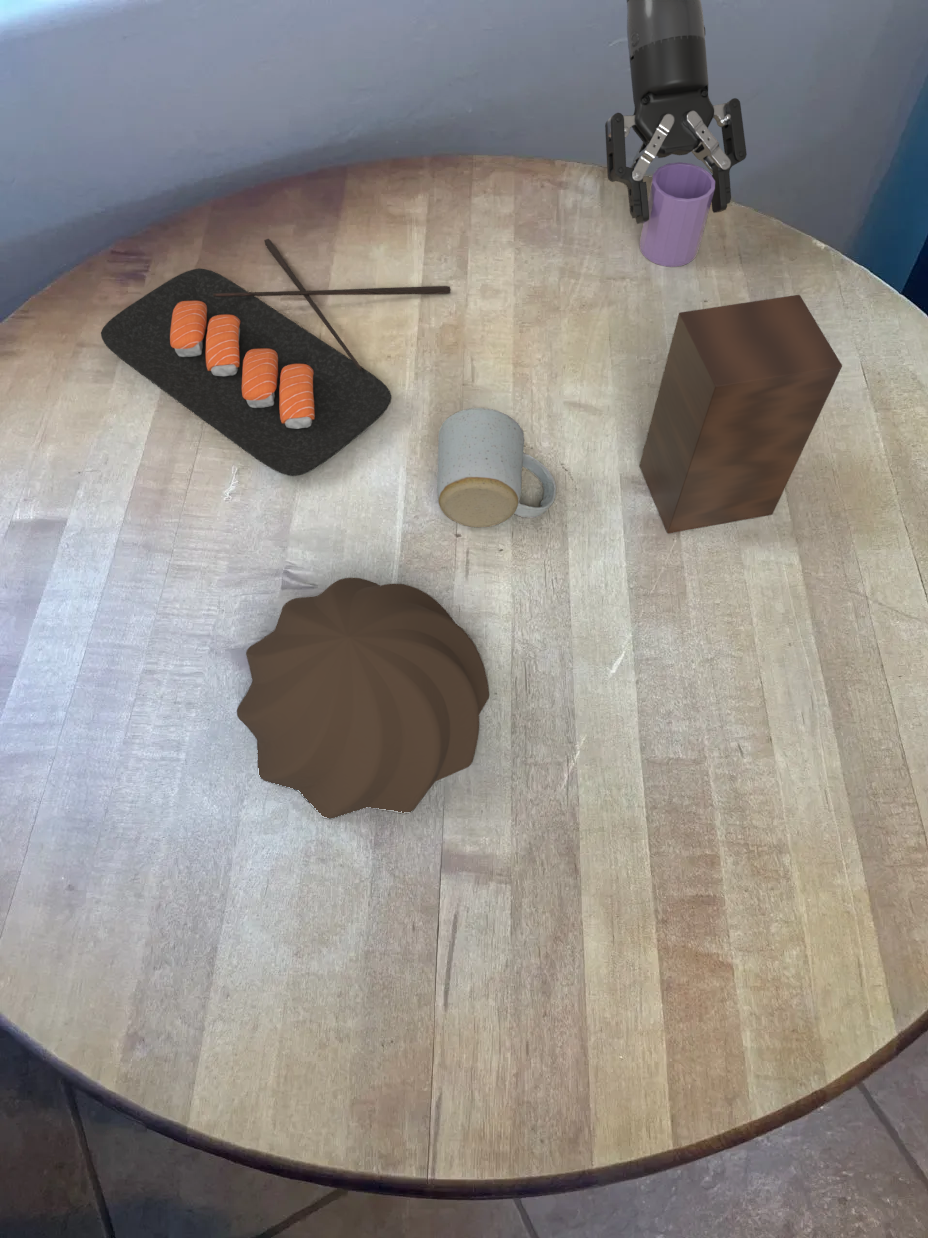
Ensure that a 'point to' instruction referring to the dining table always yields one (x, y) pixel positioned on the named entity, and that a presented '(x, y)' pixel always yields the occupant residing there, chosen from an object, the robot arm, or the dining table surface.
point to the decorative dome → (364, 697)
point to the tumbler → (676, 213)
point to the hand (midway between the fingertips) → (681, 216)
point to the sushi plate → (252, 366)
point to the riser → (735, 410)
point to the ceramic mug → (486, 469)
